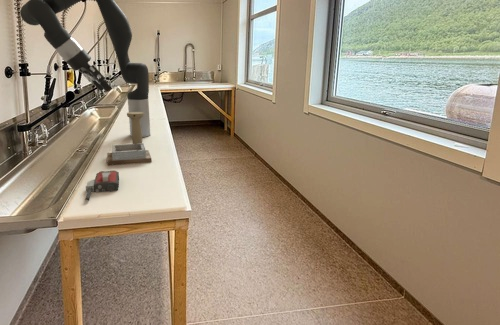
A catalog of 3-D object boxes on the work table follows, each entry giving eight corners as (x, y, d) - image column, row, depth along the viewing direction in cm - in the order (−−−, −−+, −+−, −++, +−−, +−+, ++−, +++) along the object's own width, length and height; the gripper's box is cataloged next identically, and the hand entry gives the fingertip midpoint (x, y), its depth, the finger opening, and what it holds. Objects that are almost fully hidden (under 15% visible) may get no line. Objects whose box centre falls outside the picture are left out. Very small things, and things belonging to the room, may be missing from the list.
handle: (144, 151, 152) (142, 113, 148) (128, 151, 151) (125, 113, 147) (146, 148, 157) (144, 112, 152) (131, 148, 156) (128, 111, 152)
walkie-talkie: (90, 180, 118) (83, 204, 100) (88, 166, 117) (81, 189, 99) (119, 178, 121) (118, 201, 102) (118, 165, 119) (116, 186, 101)
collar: (112, 152, 143) (111, 145, 142) (143, 150, 147) (143, 143, 146) (112, 160, 133) (112, 152, 132) (146, 158, 136) (145, 150, 135)
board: (107, 156, 143) (107, 152, 143) (148, 153, 148) (148, 150, 147) (107, 165, 132) (107, 161, 132) (151, 162, 137) (151, 158, 137)
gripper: (86, 46, 128) (119, 83, 137) (76, 48, 139) (107, 82, 148) (69, 60, 126) (104, 97, 135) (60, 60, 137) (93, 95, 146)
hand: (105, 89), depth 141 cm, fingers open, 8 cm apart
